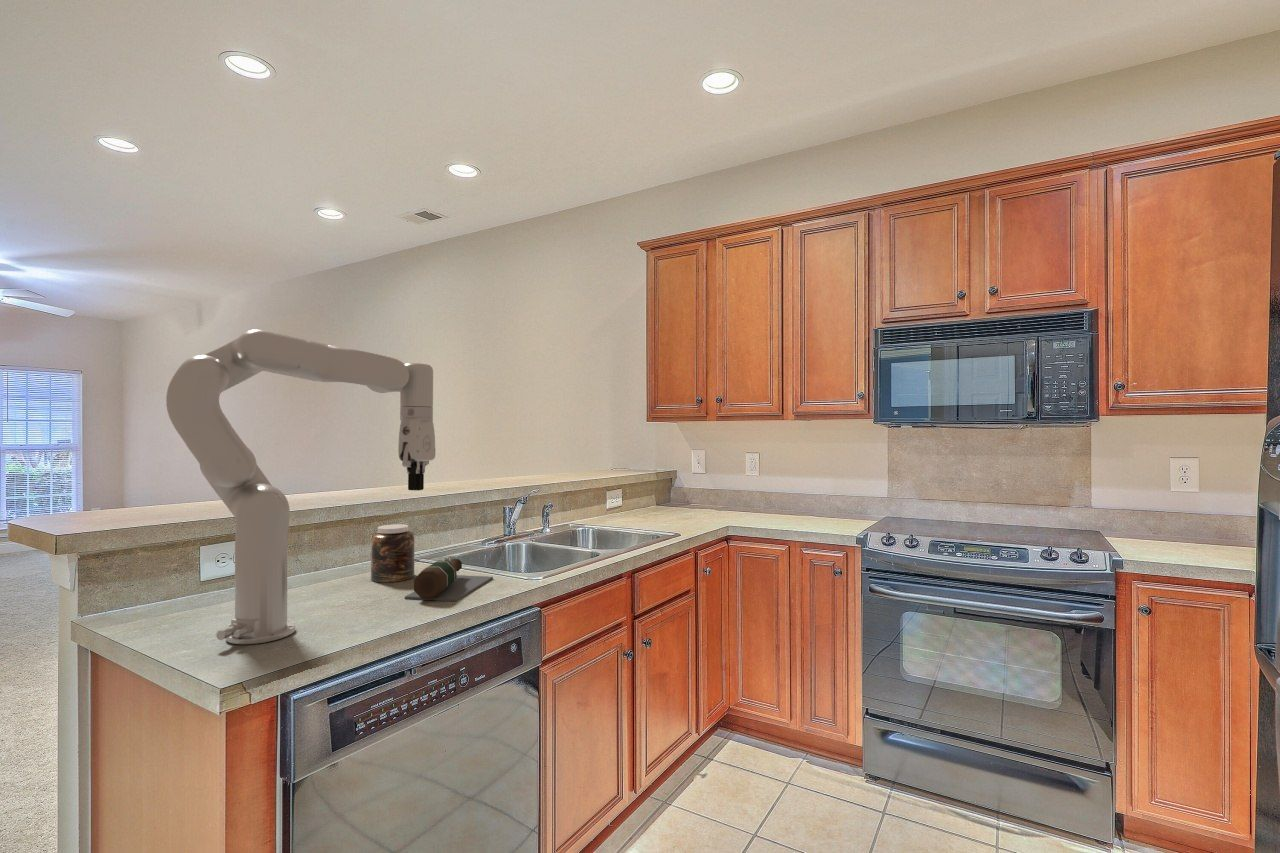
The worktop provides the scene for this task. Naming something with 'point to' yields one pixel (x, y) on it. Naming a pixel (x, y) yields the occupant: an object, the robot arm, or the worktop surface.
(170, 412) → the robot arm
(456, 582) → the mat
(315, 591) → the worktop surface
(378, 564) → the jar
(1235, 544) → the worktop surface
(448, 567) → the beer bottle
